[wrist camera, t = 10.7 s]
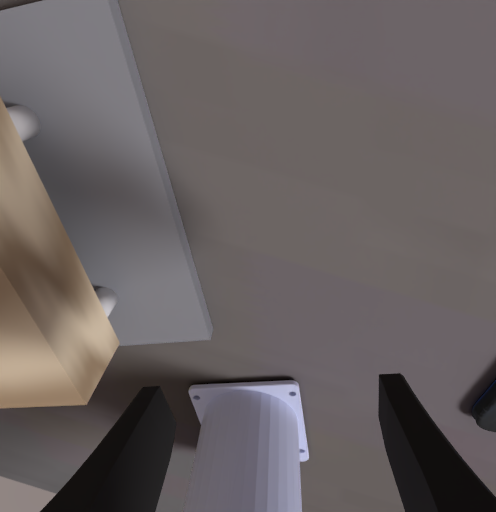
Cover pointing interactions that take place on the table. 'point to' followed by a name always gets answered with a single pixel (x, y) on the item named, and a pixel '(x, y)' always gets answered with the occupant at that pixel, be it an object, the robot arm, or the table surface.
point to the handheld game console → (486, 409)
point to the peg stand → (102, 164)
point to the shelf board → (43, 294)
